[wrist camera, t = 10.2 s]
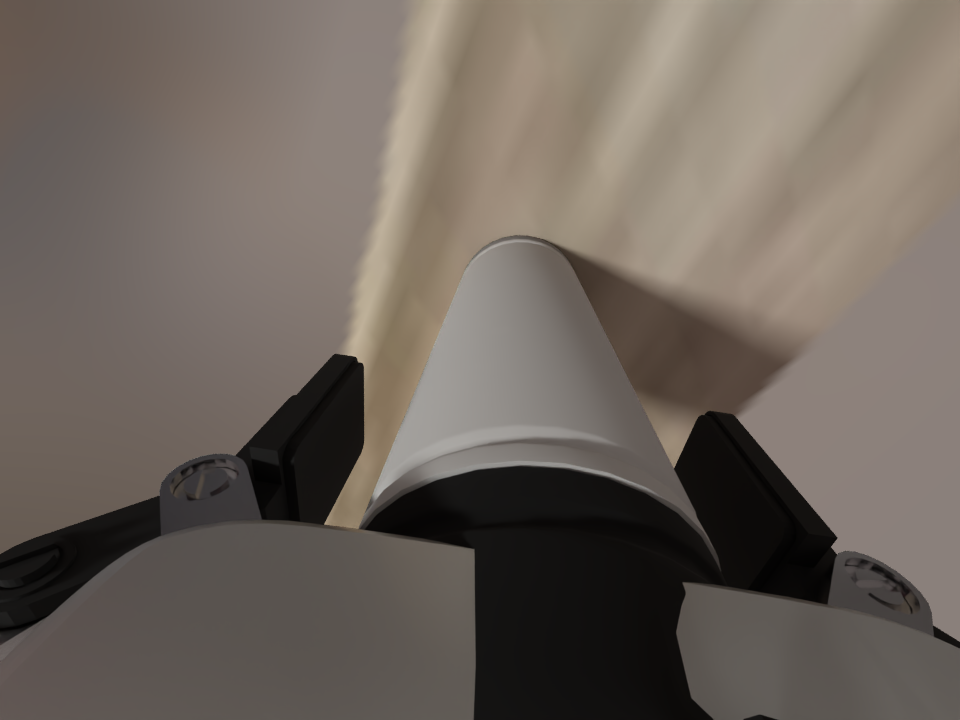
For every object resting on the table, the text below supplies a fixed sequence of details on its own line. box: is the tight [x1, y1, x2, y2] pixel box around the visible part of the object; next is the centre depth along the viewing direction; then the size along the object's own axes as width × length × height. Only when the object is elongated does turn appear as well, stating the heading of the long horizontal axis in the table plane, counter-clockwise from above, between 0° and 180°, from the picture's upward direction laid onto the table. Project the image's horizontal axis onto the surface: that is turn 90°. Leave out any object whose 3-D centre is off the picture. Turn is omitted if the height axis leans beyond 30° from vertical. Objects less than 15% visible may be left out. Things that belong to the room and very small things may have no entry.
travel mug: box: [359, 235, 777, 720], centre depth 13 cm, size 6×7×20 cm
